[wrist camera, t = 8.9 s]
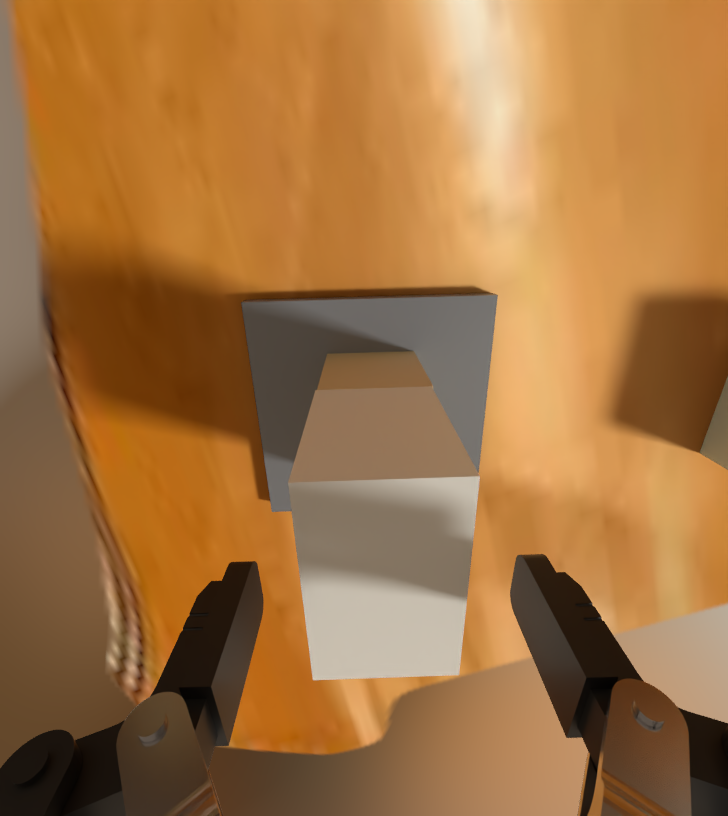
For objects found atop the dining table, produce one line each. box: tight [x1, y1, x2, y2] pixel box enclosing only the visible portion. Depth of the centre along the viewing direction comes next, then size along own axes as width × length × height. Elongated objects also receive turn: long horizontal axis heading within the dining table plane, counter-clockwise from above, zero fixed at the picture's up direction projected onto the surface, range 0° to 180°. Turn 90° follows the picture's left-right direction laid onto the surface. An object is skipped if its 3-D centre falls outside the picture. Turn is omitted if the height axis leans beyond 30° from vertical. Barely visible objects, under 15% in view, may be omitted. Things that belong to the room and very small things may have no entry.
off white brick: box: [288, 386, 480, 680], centre depth 15 cm, size 8×5×7 cm, turn 2°
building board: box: [241, 293, 498, 512], centre depth 21 cm, size 14×14×7 cm
